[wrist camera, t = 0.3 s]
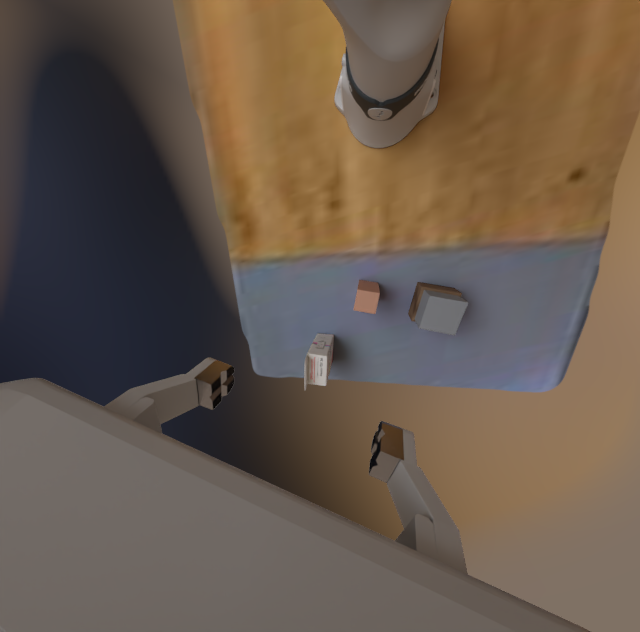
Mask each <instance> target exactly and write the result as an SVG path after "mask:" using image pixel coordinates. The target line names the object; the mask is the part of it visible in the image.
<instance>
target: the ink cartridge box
mask: <svg viewBox="0 0 640 632" xmlns="http://www.w3.org/2000/svg"><path fill="white" fill-rule="evenodd" d="M333 341H334V335H332V334H319V333H317V335H316V337H315V339H314V341H313V343H312V345H311V347H310V349H309V351H308V353H307V356H306V359H305V390H306V386H307V384H316V385H322V386H326V384H327V380H328V376H329V372H330V369H331V365H332V361H333Z"/></svg>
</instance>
